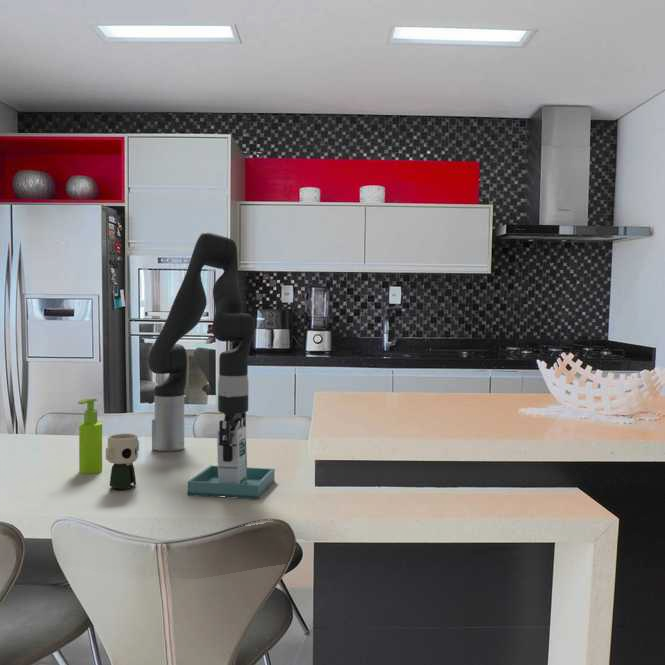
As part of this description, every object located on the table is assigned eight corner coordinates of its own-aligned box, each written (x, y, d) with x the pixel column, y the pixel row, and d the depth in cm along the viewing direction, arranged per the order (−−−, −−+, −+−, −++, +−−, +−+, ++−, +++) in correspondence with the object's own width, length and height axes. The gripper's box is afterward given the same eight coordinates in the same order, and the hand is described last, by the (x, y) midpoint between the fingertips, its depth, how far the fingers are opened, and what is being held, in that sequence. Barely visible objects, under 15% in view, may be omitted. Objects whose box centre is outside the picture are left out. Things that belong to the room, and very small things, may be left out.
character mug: (117, 495, 150) (117, 441, 150) (95, 491, 153) (95, 438, 153) (149, 483, 160) (149, 433, 159) (127, 480, 163) (127, 430, 162)
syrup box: (239, 488, 154) (239, 430, 153) (217, 486, 155) (216, 429, 155) (247, 481, 160) (247, 425, 159) (225, 480, 161) (225, 424, 160)
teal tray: (187, 495, 151) (187, 481, 151) (210, 477, 166) (210, 465, 166) (258, 499, 148) (258, 485, 148) (274, 481, 164) (274, 468, 164)
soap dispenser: (71, 473, 169) (71, 400, 168) (89, 467, 175) (89, 396, 174) (89, 475, 167) (89, 401, 166) (106, 469, 173) (106, 397, 172)
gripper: (228, 388, 164) (227, 450, 165) (209, 396, 150) (208, 463, 151) (255, 389, 163) (255, 451, 163) (239, 397, 149) (238, 465, 149)
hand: (233, 457), depth 157 cm, fingers open, 8 cm apart
